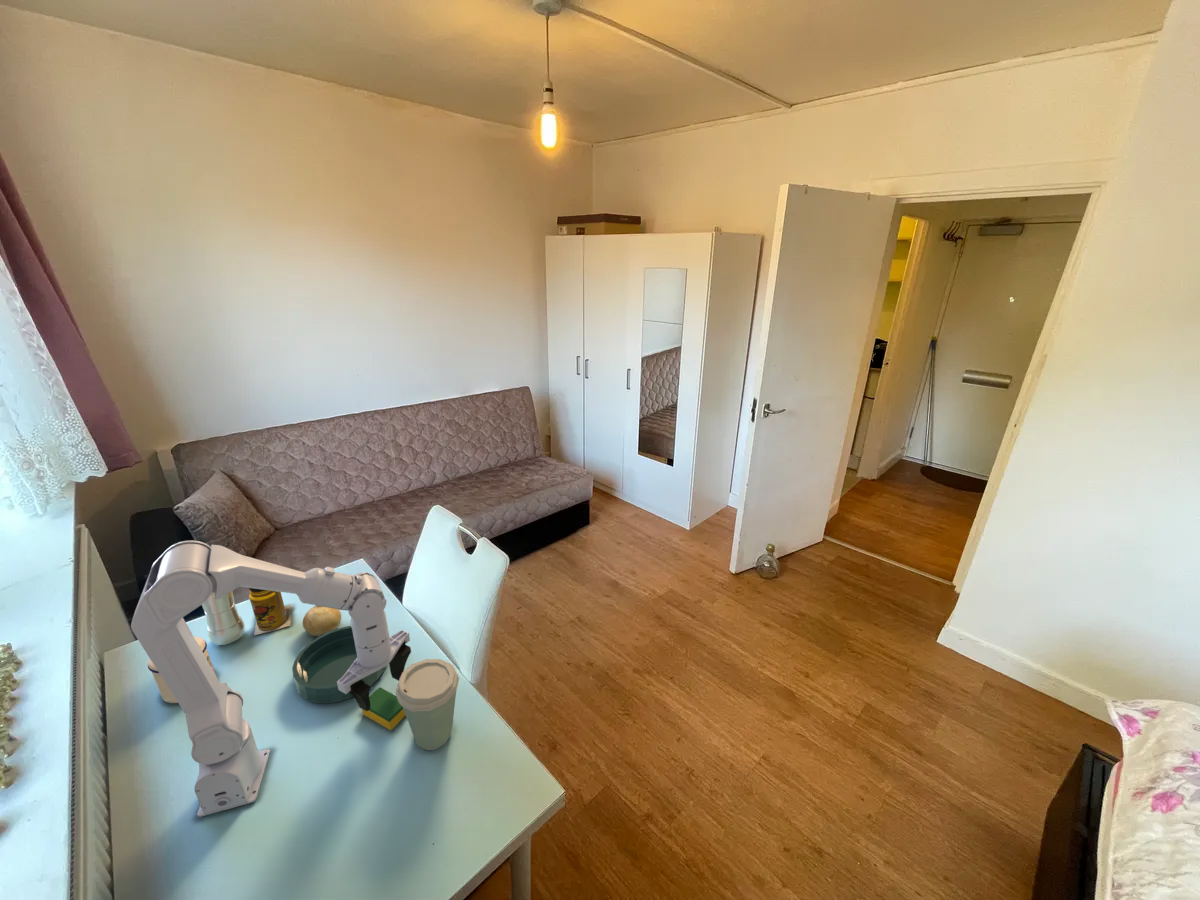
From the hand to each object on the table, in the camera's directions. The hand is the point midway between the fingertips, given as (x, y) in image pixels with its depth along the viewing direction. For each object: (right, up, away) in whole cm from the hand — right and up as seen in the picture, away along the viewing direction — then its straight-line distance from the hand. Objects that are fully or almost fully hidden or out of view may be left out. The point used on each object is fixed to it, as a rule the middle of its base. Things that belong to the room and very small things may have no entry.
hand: (381, 692), depth 94 cm
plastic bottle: (-44, +3, +19) cm, 48 cm away
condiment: (-37, +5, +25) cm, 45 cm away
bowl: (-13, -1, +11) cm, 18 cm away
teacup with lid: (-44, -2, +7) cm, 44 cm away
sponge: (0, -5, +2) cm, 5 cm away
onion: (-24, +4, +23) cm, 33 cm away
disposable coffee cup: (+11, -7, -2) cm, 13 cm away
